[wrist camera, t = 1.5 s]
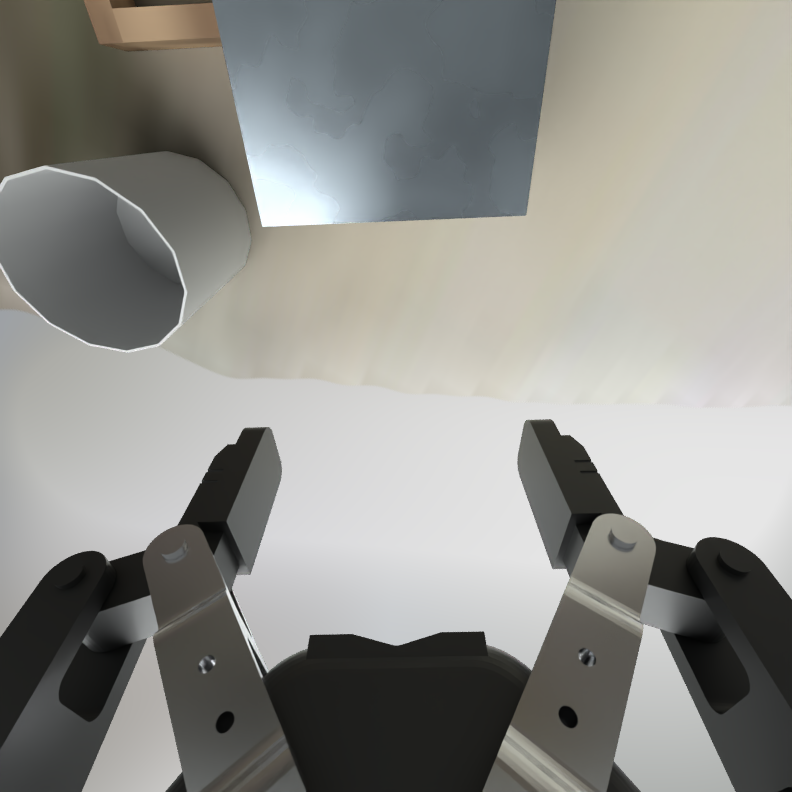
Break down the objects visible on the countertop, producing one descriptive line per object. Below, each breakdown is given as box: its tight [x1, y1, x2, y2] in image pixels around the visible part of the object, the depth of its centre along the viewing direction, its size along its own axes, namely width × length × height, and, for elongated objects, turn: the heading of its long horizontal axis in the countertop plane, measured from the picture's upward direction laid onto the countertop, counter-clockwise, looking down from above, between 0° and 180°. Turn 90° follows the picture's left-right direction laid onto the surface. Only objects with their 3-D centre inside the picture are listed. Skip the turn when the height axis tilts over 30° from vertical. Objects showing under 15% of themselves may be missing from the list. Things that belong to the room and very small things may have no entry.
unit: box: [212, 0, 556, 227], centre depth 17 cm, size 10×9×12 cm
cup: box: [0, 151, 252, 353], centre depth 22 cm, size 8×8×10 cm
